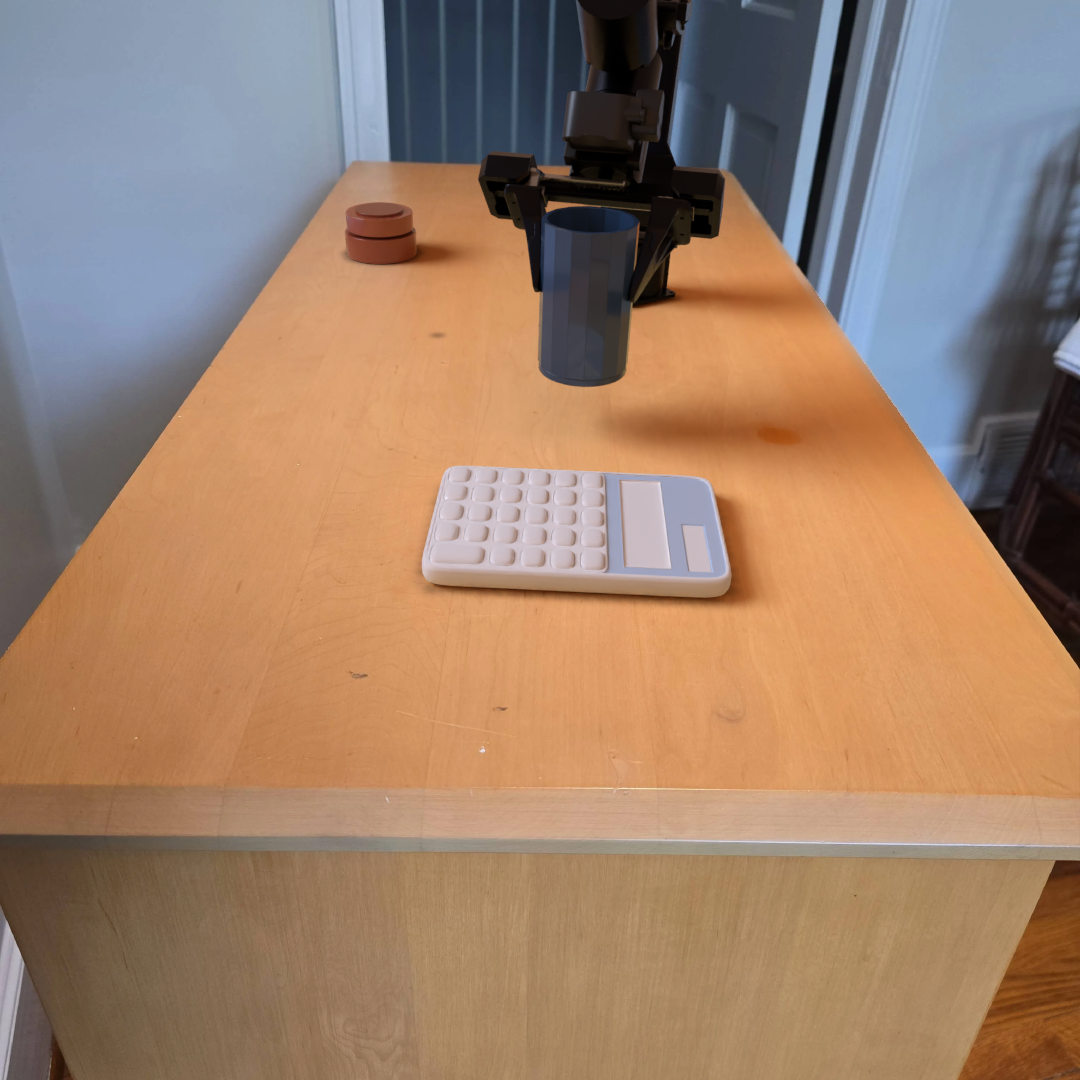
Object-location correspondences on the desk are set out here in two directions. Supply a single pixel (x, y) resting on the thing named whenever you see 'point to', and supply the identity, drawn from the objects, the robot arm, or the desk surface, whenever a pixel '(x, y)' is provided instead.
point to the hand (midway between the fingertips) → (583, 295)
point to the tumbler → (586, 294)
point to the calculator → (577, 532)
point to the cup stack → (380, 233)
